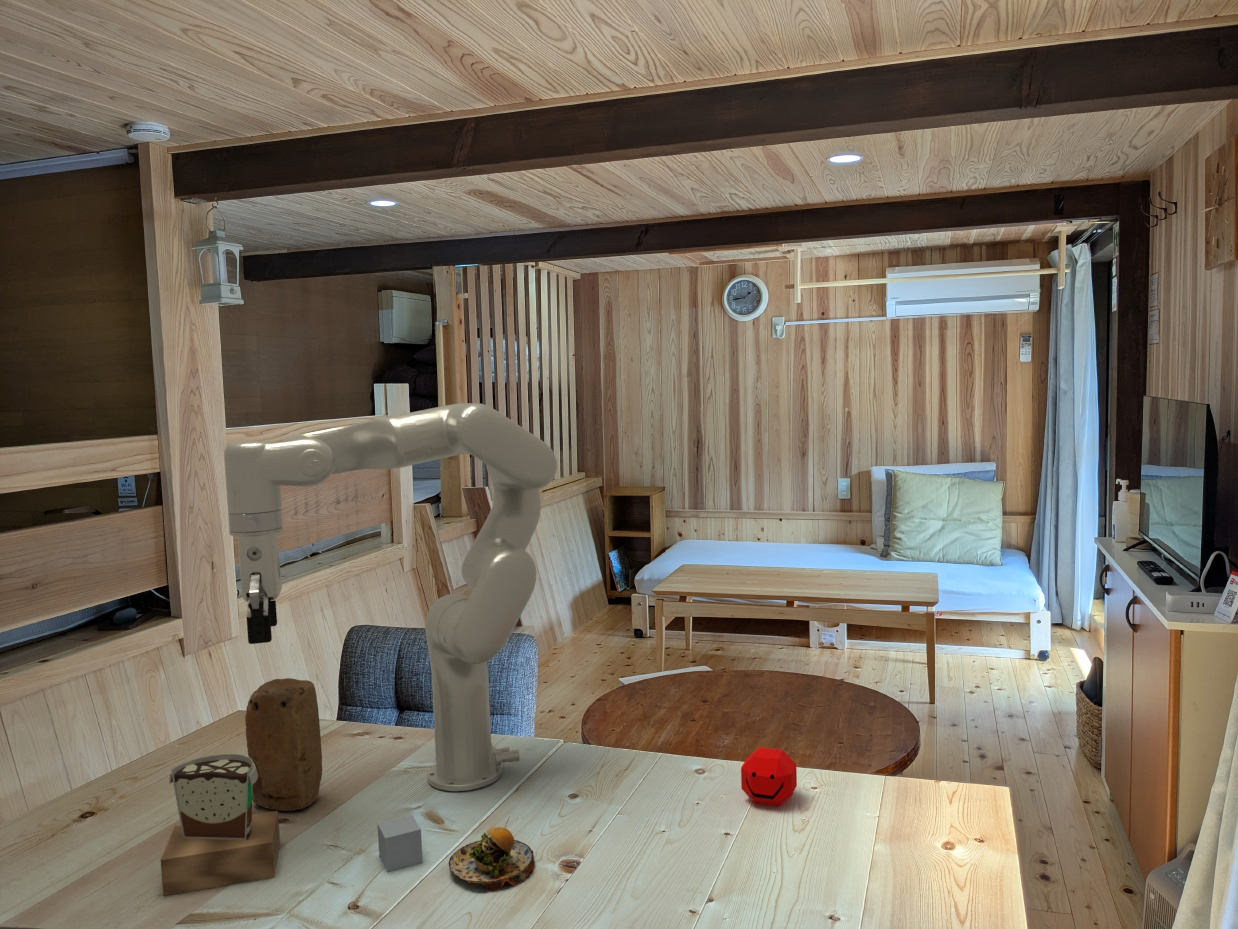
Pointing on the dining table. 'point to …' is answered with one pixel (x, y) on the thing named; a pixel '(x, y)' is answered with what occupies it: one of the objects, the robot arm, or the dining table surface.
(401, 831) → the slate cube
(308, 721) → the brown lumpy post
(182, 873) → the plinth
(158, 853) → the dining table surface
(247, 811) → the food container
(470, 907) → the dining table surface
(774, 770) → the ball
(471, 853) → the burger
